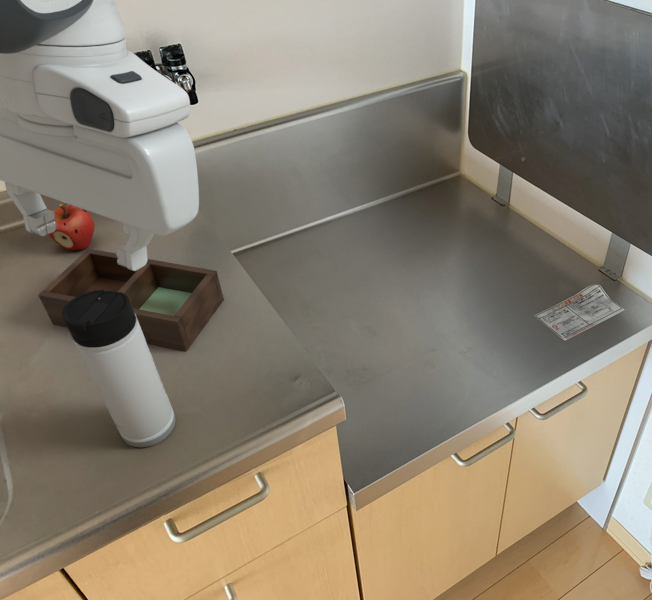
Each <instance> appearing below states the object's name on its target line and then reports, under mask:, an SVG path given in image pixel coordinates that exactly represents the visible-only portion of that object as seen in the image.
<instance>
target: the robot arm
mask: <svg viewBox="0 0 652 600" xmlns="http://www.w3.org/2000/svg"><path fill="white" fill-rule="evenodd" d="M117 4H118V3H117V0H0V181H1V182H4V185H5V190H6V193H7V195H8V196H9V197H10V199H11V200H12V202H13V204H14V205H15V206H16V208H17V209H18V211H19V212H20V214H22V218H23V222H24V227H25V231H26V232H27V233H31V234H33V235H36V236H39V237H46V236H47V235H48V234H50V233H53V232H55V230H56V228H57V225H56V222H55V213H54V212H53V211H54V210H50V209H48V208H47V205H46V204H45V202H44V199H43V197H42V196H45V197H48V198H49V199H53V200H56V201H57V202H58V201H59V202H61V203H63V204H65V203H67V204H66V205H73V206H75V207H78V208H81V209H84V210H86V211H87V212H90V213H93V214H96V215H98V216H102V217H104V218H107V219H110V220H112V221H115V222H118V223H121V224H122V229H123V231H122V232H123V233H124V234H125V235H129V237H128V239H127V241H126V242H125V244H121V245H119V246H116V247H115V253H116V256H117V257H118V259H117V263H118V265H120V266H122V267H125V268H127V269H130V270H133V271H136V270H138V269H140V268H142V267H143V266H145V265H146V263H147V261H148V259H149V258H148V245H149V244H150V242H151V240H152V239H153V237H154V235H155V236H158V237H167V236H170V235H171V234H173V233H176V232H178V231H179V230H181V229H183V228H185V227H187V226H188V225H190V223H192V222H193V221H194V219H195V218H196V217H197V215H198V213H199V209H200V190H199V189H200V188H199V175H198V165H197V157H196V149H195V145H194V143H193V139H192V138H191V135H190V134H189V132H188V131H187V129H186V128H185V127H184V126H183V125H182V124H181V123H179V122H182V121H184V120H185V119H188V118H189V116H190V114H191V101H190V96H189V94H188V92H187V91H185V89H184V88H182V87H181V86H180V85H178V84H177V83H175V82H173V81H172V80H170V79H169V78H167V77H166V76H165V75H163V74H161V73H160V72H158V71H157V70H155V69H154V67H153V68H152V67H151V66H150V65H149V64H147V63H146V62H145V61H144V60H143V59H142V58H140V57H139V56H138V55H136V54H135V53H134V52H132V51H130V50H128V49H127V36H126V30H125V25H124V23H123V20H122V18H121V15H120V12H119V8H118V5H117Z"/></svg>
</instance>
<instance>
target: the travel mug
mask: <svg viewBox="0 0 652 600" xmlns="http://www.w3.org/2000/svg"><path fill="white" fill-rule="evenodd" d="M62 318H63V320H64V322H65V324H66V326H67V327H66V328H67V330H68V332H69V333H70V336H71V339H72V341H73V342H74V345H75V348H76V349H77V351H78V353H79V355H80V357H81V359H82V361H83V363H84V365H85V367H86V369H87V371H88V373H89V375H90V377H91V379H92V382H93V383H94V385H95V387H96V389H97V391H98V393H99V395H100V397H101V399H102V401H103V403H104V405H105V407H106V409H107V411H108V413H109V415H110V417H111V419H112V420H113V423H114V424H115V427H116V429H117V431H118V433H119V435H120V437H121V439H122V440H123V442H124V443H125V444H127V445H128V446H130V447H134V448H149V447H153V446H155V445H157V444H159V443H161V442H163V441H164V440H165V439H166V438H168V437H169V436H170V435H171V433H172V432H173V430H174V428H175V426H176V420H177V418H176V415H175V412H174V409H173V407H172V404H171V401H170V399H169V396H168V394H167V391H166V389H165V386H164V383H163V381H162V378H161V376H160V374H159V370H158V367H157V366H156V363H155V360H154V358H153V354H152V353H151V350H150V347H149V344H147V342H146V340H145V337H144V335H143V332H142V329H141V327H140V324H139V322H138V319H137V317H136V314H135V313H134V311H133V308H132V305H131V303H130V300H129V298H128V296H127V295H126V294H124V293H122V292H116V291H104V290H95V291H91V292H87V293H84V294H82V295H80V296H77V297H76V298H74V299H72V300H71V301H70V302H68V303H67V304H66V305H65V306H64V308H63V310H62Z"/></svg>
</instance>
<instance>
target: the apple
mask: <svg viewBox="0 0 652 600" xmlns="http://www.w3.org/2000/svg"><path fill="white" fill-rule="evenodd" d="M52 211H53V212H54V213H55V222H56V225H57V228H56V230H55V232H53V233H50V234H47V235H48V236H49V237H50V238H51V240H53V242H55V243H57V244H58V245H60V246H62V248H64V249H66V250H68V251H82V250H83V251H84V250H87V249H88V247H89V246H90V245H91V242H92V240H93V236H94V233H95V226H96V225H95V221H94V219H93V217H92V216H91V214H90V213H89V211H87V210H84V209H81V208H78V207H75V206H73V205H70V204H67V203H60V204H59V207H57V208H55V209H54V210H52Z"/></svg>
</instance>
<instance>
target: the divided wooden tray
mask: <svg viewBox="0 0 652 600" xmlns="http://www.w3.org/2000/svg"><path fill="white" fill-rule="evenodd" d="M117 259H118V257H117V256H116V252H110V251H105V250H98V249H93V248H86V249H85V251H84V252H83V253H82V254H81V255H80V256H78V257H77V258H76V259H75V260H74V261H73V262H72V263H70V265H69V266H68V267H66V269H64V270H63V271H62V272H61V273H60V274H59V275H58V276H57V277H56V278H54V280H52V281H51V282H50V283H49V284H48V285H47V286H45V288H44V289H43V291H41V292H40V293H39V294H38V295H37V296H38V298H39V299H40V302H41V303H42V306H43V307H44V310H45V311H46V313H47V315H48V317H49V319H50V322H51V323H52V325H55V326H59V327H63V328H67V326H66V324H65V322H64V320H63V318H62V310H63V308H64V306H65V305H66V304H67V303H68V302H70V301H71V300H72V299H74V298H76V297H77V296H80V295H82V294H84V293H87V292H91V291H95V290H104V291H116V292H122V293H124V294H126V295H127V296H128V298H129V300H130V303H131V305H132V308H133V311H134V313H135V314H136V317H137V319H138V322H139V324H140V327H141V329H142V332H143V335H144V337H145V340H146V342H147V345H153V346H157V347H161V348H162V347H163V348H166V349H173V350H176V351H183V352H187V351H188V350H189V349H190V347H192V344H193V343H194V342H195V340H196V339H197V338H198V337H199V335H200V334H201V332H202V331H203V329H204V328H205V327H206V326H207V324H208V323H209V321H210V320H211V318H212V317H213V316H214V314H215V313H216V312H217V310H218V309H219V307H220V306H221V305H222V304H223V302H224V300H225V299H224V295H223V291H222V286H221V283H220V278H219V275H218V271H217V270H214V269H210V268H209V269H208V268H203V267H197V266H190V265H186V264H179V263H173V262H168V261H163V260H157V259H151V258H148V261H147V263H146V265H145V266H143V267H142V268H140V269H138V270H136V271H133V270H130V269H127V268H125V267H122V266H120V265H118V263H117Z"/></svg>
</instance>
